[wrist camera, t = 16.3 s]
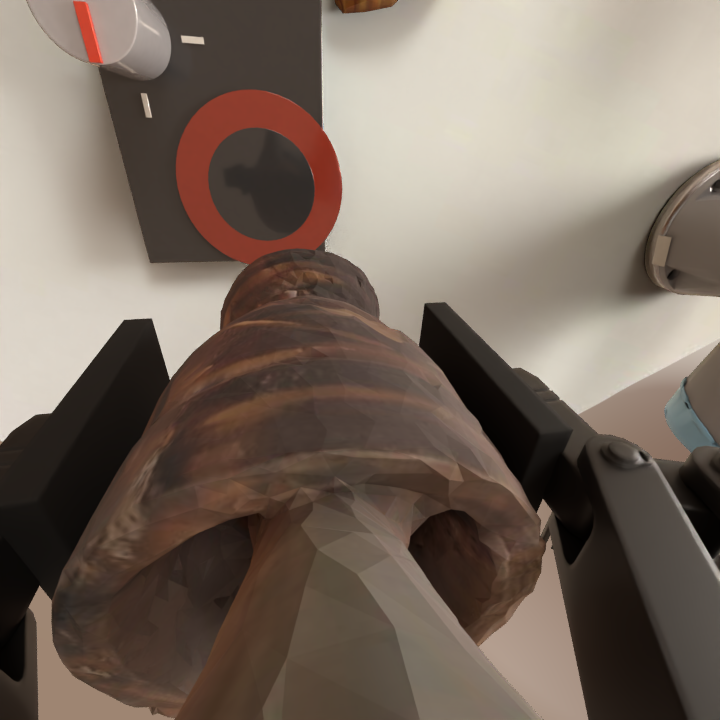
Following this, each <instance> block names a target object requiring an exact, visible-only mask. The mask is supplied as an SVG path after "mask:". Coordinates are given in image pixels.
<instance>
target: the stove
mask: <svg viewBox="0 0 720 720" xmlns="http://www.w3.org/2000/svg"><path fill="white" fill-rule="evenodd" d="M151 1H152V3H153V4H154V5H155V6H156V7H157V9H158V10H159V12H160V13H161V15H162V17H163V19H164V21H165V23H166V25H167V28H168V31H169V35H170V40H171V56H170V60H169V63H168V65H167V67H166V69H165V70H164V72H163V73H162V74H161V75H159V76H158V77H156V78H154V79H152V80H147V81H138V80H133V79H130V78H127V77H124V76H122V75H119V74H116V73H113V72H111V71H108V70H105V69H102V68H100V67H98V68H99V72H100V75H101V79H102V83H103V87H104V91H105V94H106V98H107V102H108V106H109V109H110V113H111V117H112V121H113V124H114V128H115V132H116V136H117V139H118V143H119V147H120V151H121V155H122V158H123V162H124V166H125V170H126V173H127V177H128V181H129V185H130V188H131V192H132V196H133V200H134V204H135V207H136V211H137V215H138V219H139V222H140V226H141V230H142V234H143V237H144V241H145V245H146V249H147V253H148V256H149V260H150V263H170V262H214V261H238V260H235V259H233V258H231V257H229V256H227V255H225V254H224V253H222V252H221V251H219V250H218V249H216V248H215V247H214V246H213V245H211V244H210V243H209V242H208V241H207V240H206V239H205V238H204V237H203V236H202V235H201V233H200V232H199V231H198V230H197V229H196V227H195V226H194V224H193V223H192V221H191V220H190V218H189V216H188V214H187V212H186V211H185V208H184V206H183V203H182V201H181V198H180V194H179V191H178V187H177V179H176V157H177V150H178V146H179V142H180V139H181V136H182V134H183V132H184V130H185V127H186V126H187V124H188V123H189V121H190V120H191V118H192V117H193V116H194V115H195V113H196V112H197V111H198V110H199V109H200V108H201V107H203V106H204V105H205V104H206V103H207V102H209V101H211V100H212V99H214V98H216V97H218V96H220V95H223V94H225V93H228V92H232V91H237V90H253V89H254V90H261V91H267V92H271V93H274V94H277V95H280V96H282V97H284V98H286V99H289V100H290V101H292V102H294V103H295V104H297V105H298V106H300V107H301V108H302V109H304V110H305V111H306V112H307V113H308V114H310V115H311V116H312V117H313V119H314V120H315V121H316V122H317V123H318V124H319V125H320V127H321V128H322V129H323V79H322V8H321V0H151ZM316 250H318V251H325V240H324V241H323V243H322V244H321V245H320V246H319V247H318V248H317V249H316Z"/></svg>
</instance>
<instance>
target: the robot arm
mask: <svg viewBox="0 0 720 720" xmlns="http://www.w3.org/2000/svg"><path fill="white" fill-rule="evenodd" d="M645 267H646V271H647V274H648V276H649V278H650V279H651V281H652V282H653V283H654V284H656V285H657V286H659V287H661V288H663V289H666V290H668V291H671V292H673V293H677V294H682V295H700V296H715V297H720V160H717V161H715V162H713V163H711V164H710V165H708V166H706V167H705V168H703V169H702V170H700V171H699V172H697V173H696V174H695V175H693V176H692V177H691V178H690V179H689V180H688V181H686V182H685V183H684V184H683V185H682V186H681V187H680V188H679V189H678V190H677V192H676V193H675V194H674V195H673V196H672V197H671V199H670V200H669V201H668V203H667V204H666V205H665V207H664V208H663V210H662V211H661V213H660V214H659V216H658V218H657V220H656V222H655V224H654V226H653V228H652V230H651V233H650V235H649V238H648V242H647V246H646V251H645ZM419 347H420V348H421V349H422V350H423V351H424V352H425V353H426V354H427V355H428V356H429V357H430V358H431V359H432V360H433V361H434V363H435V364H436V365H437V366H438V367H439V368H440V369H441V370H442V371H443V373H444V375H445V376H446V378H447V379H448V381H449V382H450V384H451V385H452V387H453V388H454V390H455V391H456V393H457V394H458V396H459V397H460V399H461V400H462V402H463V404H464V405H465V407H466V408H467V409H468V410H469V411H470V412H471V414H472V415H473V416H474V417H475V418H476V419H477V420H478V421H479V423H480V425H481V427H482V430H483V431H484V432H485V434H486V435H487V436H488V438H489V439H490V440H491V442H492V443H493V444H494V446H495V447H496V448H497V450H498V451H499V453H500V454H501V455H502V457H503V459H504V461H505V463H506V465H507V467H508V469H509V470H510V471H511V472H512V474H513V475H514V476H515V477H516V478H517V480H518V481H519V482H520V484H521V486H522V488H523V490H524V492H525V494H526V496H527V498H528V500H529V502H530V504H531V506H532V507H533V509H534V510H535V512H536V513H537V510H538V508H539V506H540V504H541V502H542V499H544V500H545V502H546V503H547V504H548V506H549V507H550V508H551V510H552V513H551V516H550V517H549V519H548V522H547V524H546V526H545V528H544V530H543V532H542V534H541V536H540V537H541V538H542V539H543V540H544V541H545V542H547V541H548V539H549V536H550V535H551V540H552V547H551V549H553V550H554V555H555V560H556V564H557V569H558V574H559V579H560V583H561V589H562V594H563V598H564V603H565V608H566V613H567V618H568V622H569V627H570V632H571V637H572V642H573V647H574V651H575V656H576V661H577V666H578V670H579V676H580V681H581V685H582V690H583V695H584V700H585V705H586V710H587V714H588V719H589V720H720V342H719V343H718V345H717V346H716V347H715V348H714V349H713V350H712V351H711V352H710V354H708V356H707V357H706V358H705V359H704V360H703V361H702V362H701V363H700V364H699V365H698V366H697V368H696V369H695V370H694V371H693V372H692V373H691V374H690V375H689V376H688V377H685V378H684V379H683V381H682V382H681V386H680V388H679V389H678V390H677V391H676V393H675V394H674V395H673V397H672V398H671V399H670V400H669V401H668V403H667V405H666V407H665V418H666V421H667V424H668V426H669V428H670V429H671V431H672V432H673V433H674V435H675V436H676V437H677V438H678V440H679V441H680V442H681V443H682V444H683V445H684V446H685V447H686V448H687V449H688V450H689V451H690V452H691V454H690V455H689V457H688V458H687V460H686V461H685V462H679V461H670V460H661V459H654V458H652V457H651V456H650V454H649V453H647V452H646V451H645V450H643V449H642V448H640V447H639V446H638V445H636V444H634V443H632V442H629V441H628V440H626V439H623V438H620V437H616V436H613V435H602V434H598V433H597V432H596V431H595V430H593V429H592V428H591V427H590V426H589V425H588V424H587V423H586V422H585V421H584V420H583V419H582V418H581V417H579V416H578V415H577V414H576V413H575V412H574V411H573V410H572V409H571V408H570V407H569V406H568V405H567V404H566V403H564V402H563V401H562V400H559V397H558V396H557V395H556V394H555V393H554V392H553V391H550V390H549V388H548V387H547V386H546V385H545V384H544V383H543V382H542V381H541V380H540V379H539V378H538V377H536V376H534V375H532V374H531V373H529V372H527V371H525V370H523V369H522V368H513V369H512V368H511V367H510V366H509V365H508V364H507V363H506V362H505V361H504V360H503V359H502V358H501V357H500V356H499V355H498V354H497V353H496V352H495V351H494V350H493V349H492V348H491V347H490V346H489V345H488V344H487V343H486V342H485V341H484V340H483V339H482V338H481V337H480V336H479V335H478V334H477V333H476V332H475V331H474V330H473V329H472V328H471V327H470V326H469V325H468V324H467V323H466V322H465V321H463V320H462V319H461V318H460V317H459V316H458V315H457V314H456V313H455V312H454V311H453V310H452V309H451V308H450V307H449V306H448V305H447V304H446V303H445V302H443V303H425V305H424V313H423V320H422V328H421V336H420V343H419ZM169 382H170V379H169V376H168V372H167V369H166V365H165V362H164V359H163V355H162V352H161V348H160V345H159V342H158V338H157V335H156V332H155V328H154V325H153V321H152V319H134V320H124V321H123V322H122V323H121V325H120V326H119V327H118V328H117V330H116V331H115V332H114V334H113V335H112V336H111V338H110V339H109V340H108V341H107V343H106V344H105V345H104V347H103V348H102V349H101V350H100V352H99V353H98V354H97V356H96V357H95V358H94V359H93V361H92V362H91V363H90V365H89V366H88V367H87V369H86V370H85V371H84V372H83V374H82V375H81V376H80V378H79V379H78V380H77V381H76V383H75V384H74V385H73V387H72V388H71V389H70V390H69V392H68V393H67V394H66V396H65V397H64V398H63V399H62V401H61V402H60V403H59V405H58V406H57V407H56V409H55V410H54V411H53V412H52V413H50V414H39V415H35V416H33V417H32V418H31V419H29V420H28V421H26V422H25V423H23V424H22V425H20V426H19V427H18V428H16V429H15V430H13V431H12V432H11V433H10V434H9V436H8V437H7V438H6V439H5V440H4V441H3V443H2V444H1V445H0V720H38V681H37V632H36V631H37V630H36V620H35V617H34V614H33V612H32V611H31V610H30V609H29V608H28V607H29V605H30V603H31V601H32V599H33V597H34V595H35V593H36V591H37V589H38V587H39V585H40V586H41V588H42V589H43V590H44V591H45V592H46V594H47V595H48V596H49V598H50V599H51V600H52V599H53V596H54V593H55V590H56V587H57V585H58V582H59V579H60V576H61V573H62V570H63V568H64V567H65V565H66V563H67V562H68V560H69V558H70V557H71V555H72V553H73V551H74V549H75V547H76V545H77V543H78V542H79V540H80V538H81V536H82V534H83V532H84V530H85V529H86V527H87V525H88V523H89V521H90V519H91V517H92V515H93V514H94V512H95V510H96V508H97V507H98V505H99V503H100V501H101V500H102V498H103V496H104V494H105V493H106V491H107V489H108V487H109V486H110V484H111V482H112V480H113V478H114V477H115V475H116V473H117V471H118V470H119V468H120V467H121V465H122V463H123V462H124V460H125V459H126V457H127V455H128V454H129V452H130V451H131V449H132V447H133V446H134V445H135V444H136V443H137V442H138V441H139V439H140V438H141V437H142V434H143V432H144V430H145V428H146V426H147V424H148V421H149V419H150V417H151V415H152V413H153V411H154V409H155V406H156V404H157V402H158V400H159V398H160V396H161V395H162V393H163V392H164V390H165V388H166V387H167V385H168V383H169Z"/></svg>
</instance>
